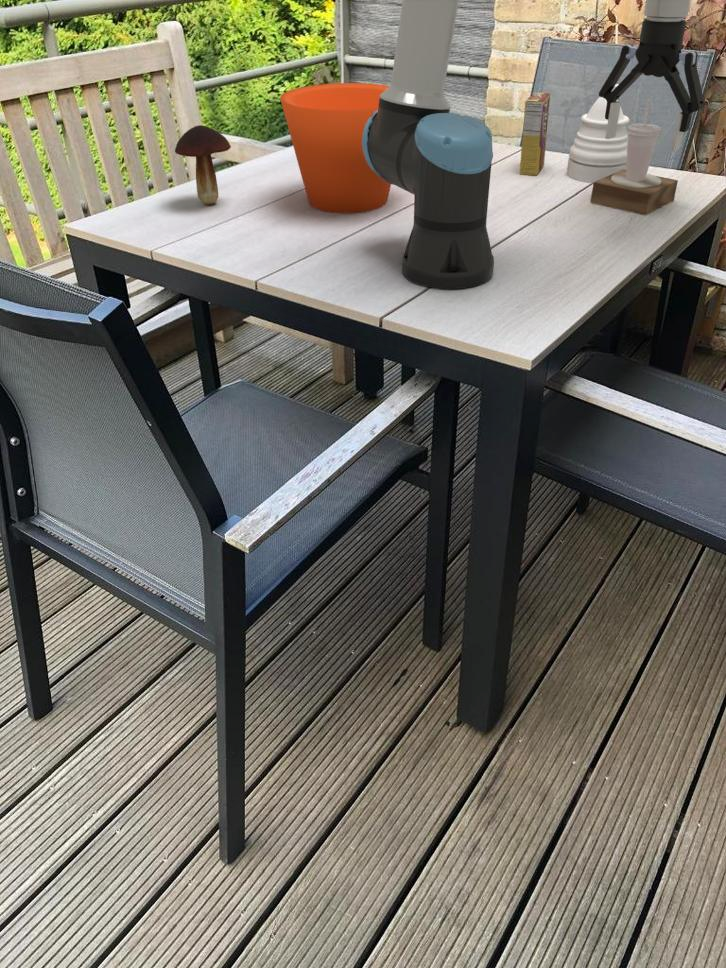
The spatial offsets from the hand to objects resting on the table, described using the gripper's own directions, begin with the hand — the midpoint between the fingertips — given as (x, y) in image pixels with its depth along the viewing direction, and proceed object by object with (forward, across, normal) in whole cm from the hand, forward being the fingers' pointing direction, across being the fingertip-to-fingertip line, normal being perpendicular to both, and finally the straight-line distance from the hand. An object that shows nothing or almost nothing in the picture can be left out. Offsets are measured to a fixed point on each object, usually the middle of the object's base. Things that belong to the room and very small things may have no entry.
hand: (641, 143), depth 160 cm
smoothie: (+7, 0, 0) cm, 7 cm away
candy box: (+11, +28, -6) cm, 31 cm away
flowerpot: (+12, +44, +37) cm, 58 cm away
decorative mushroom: (+12, +64, +57) cm, 86 cm away
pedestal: (+11, 0, 0) cm, 11 cm away
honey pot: (+11, +15, -12) cm, 22 cm away
